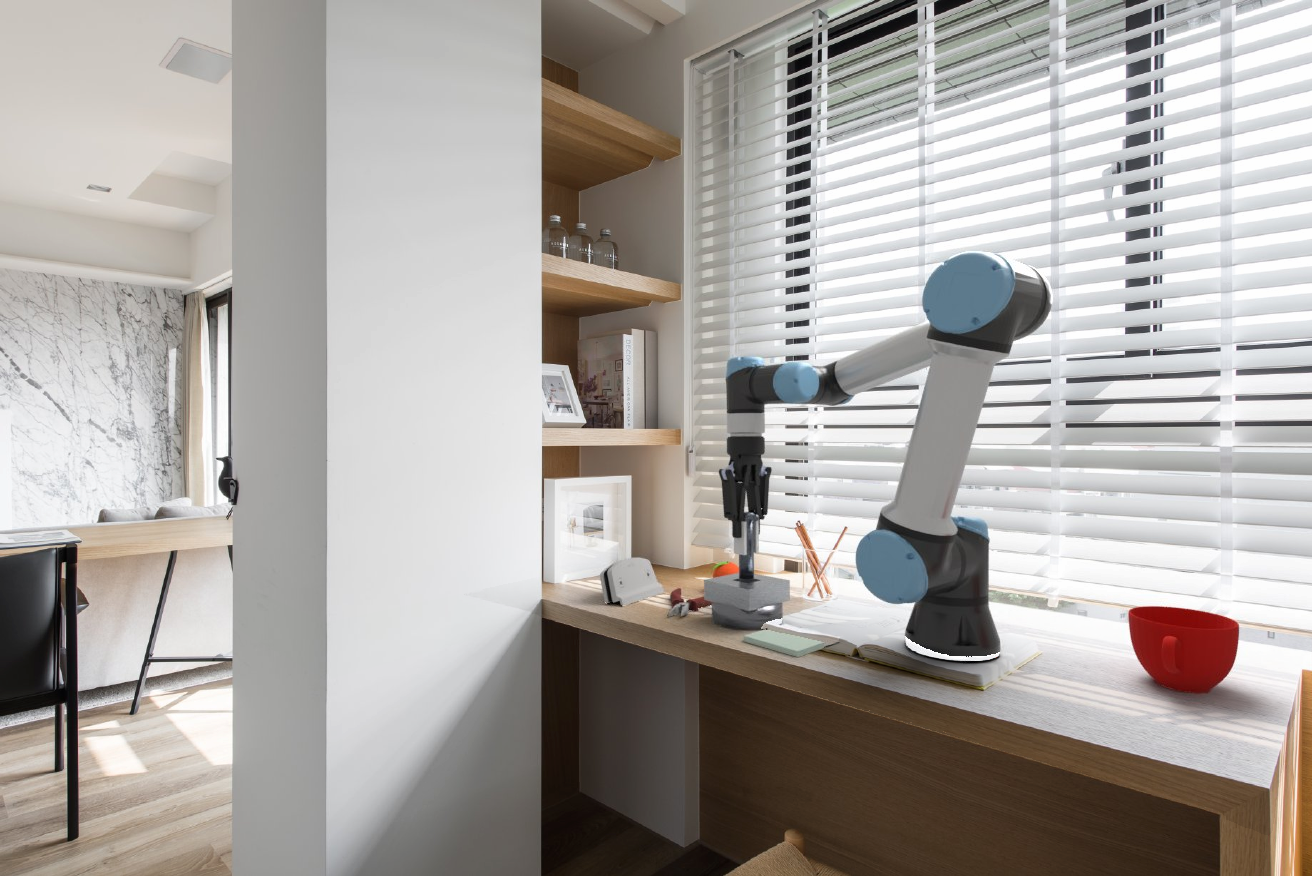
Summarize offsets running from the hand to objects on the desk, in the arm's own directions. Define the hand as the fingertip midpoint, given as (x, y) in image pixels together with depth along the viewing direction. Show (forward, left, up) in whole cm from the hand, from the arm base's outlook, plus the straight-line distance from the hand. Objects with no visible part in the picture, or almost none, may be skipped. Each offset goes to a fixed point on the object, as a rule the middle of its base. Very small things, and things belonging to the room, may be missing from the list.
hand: (746, 552), depth 139 cm
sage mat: (-15, +5, -13) cm, 21 cm away
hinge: (+31, +5, -14) cm, 34 cm away
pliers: (+17, +1, -14) cm, 22 cm away
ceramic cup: (-67, -18, -14) cm, 70 cm away
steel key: (0, 0, -5) cm, 5 cm away
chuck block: (0, 0, -13) cm, 13 cm away
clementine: (+20, -15, -14) cm, 29 cm away
